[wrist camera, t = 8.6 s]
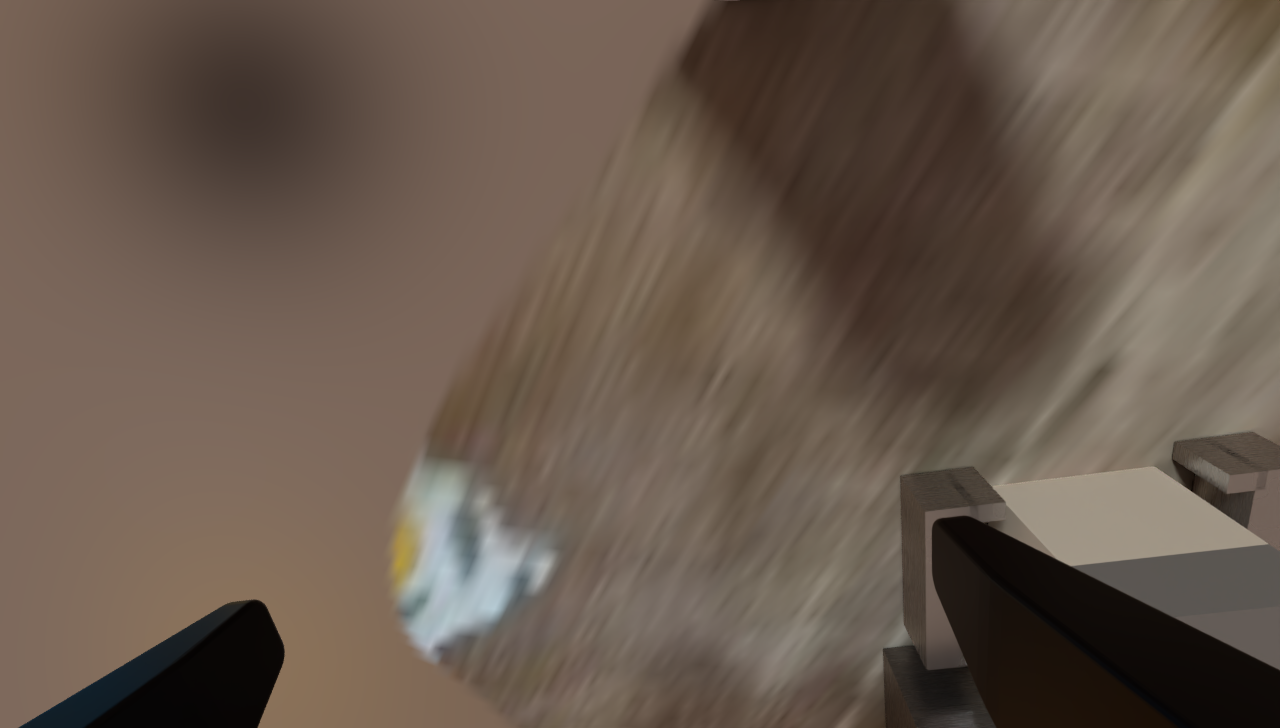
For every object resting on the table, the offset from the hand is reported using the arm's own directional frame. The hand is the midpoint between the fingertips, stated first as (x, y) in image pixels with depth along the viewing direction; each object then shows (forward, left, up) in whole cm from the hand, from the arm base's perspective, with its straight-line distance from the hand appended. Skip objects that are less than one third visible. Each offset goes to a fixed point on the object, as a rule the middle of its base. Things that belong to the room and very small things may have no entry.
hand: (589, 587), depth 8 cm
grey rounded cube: (-13, +9, -11) cm, 20 cm away
